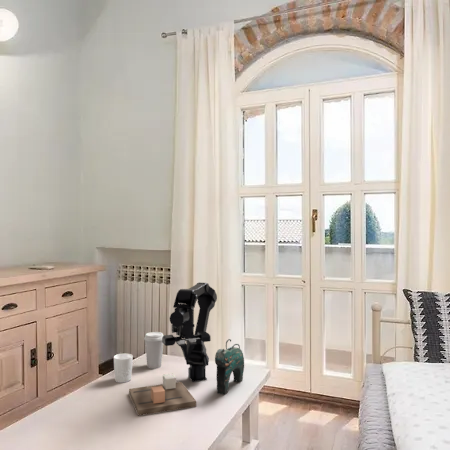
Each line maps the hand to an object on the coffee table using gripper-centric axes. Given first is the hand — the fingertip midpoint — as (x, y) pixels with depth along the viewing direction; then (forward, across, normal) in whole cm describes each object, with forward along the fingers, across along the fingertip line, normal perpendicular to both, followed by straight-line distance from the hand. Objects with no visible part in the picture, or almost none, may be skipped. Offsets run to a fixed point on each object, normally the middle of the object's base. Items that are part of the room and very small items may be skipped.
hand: (186, 359), depth 167 cm
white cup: (+12, +22, -20) cm, 32 cm away
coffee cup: (+12, +6, -32) cm, 35 cm away
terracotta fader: (+10, +14, +11) cm, 20 cm away
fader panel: (+12, +12, +6) cm, 18 cm away
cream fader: (+10, +7, 0) cm, 12 cm away
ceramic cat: (+12, -17, +3) cm, 22 cm away
